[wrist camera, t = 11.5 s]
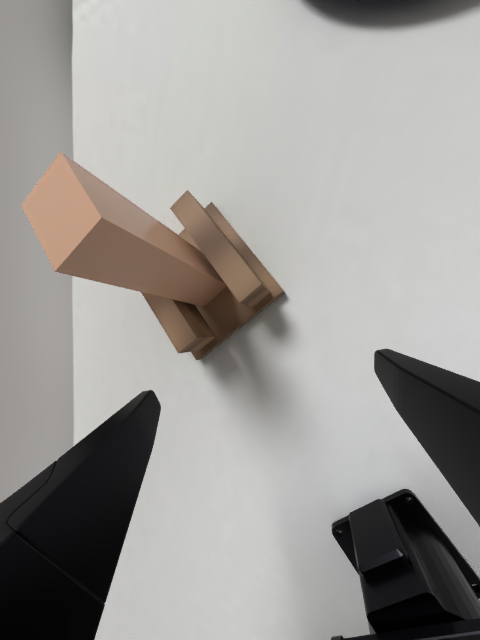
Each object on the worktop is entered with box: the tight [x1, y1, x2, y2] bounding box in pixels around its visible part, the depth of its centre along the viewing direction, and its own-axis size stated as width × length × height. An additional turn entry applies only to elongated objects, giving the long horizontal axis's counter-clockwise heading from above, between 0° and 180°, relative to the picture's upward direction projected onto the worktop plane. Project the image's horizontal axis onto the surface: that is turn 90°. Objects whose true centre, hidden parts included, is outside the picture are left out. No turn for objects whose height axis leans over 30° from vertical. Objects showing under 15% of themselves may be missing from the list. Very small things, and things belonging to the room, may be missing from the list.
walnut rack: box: [141, 190, 284, 360], centre depth 20 cm, size 11×10×4 cm
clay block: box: [21, 152, 227, 307], centre depth 15 cm, size 4×3×12 cm
